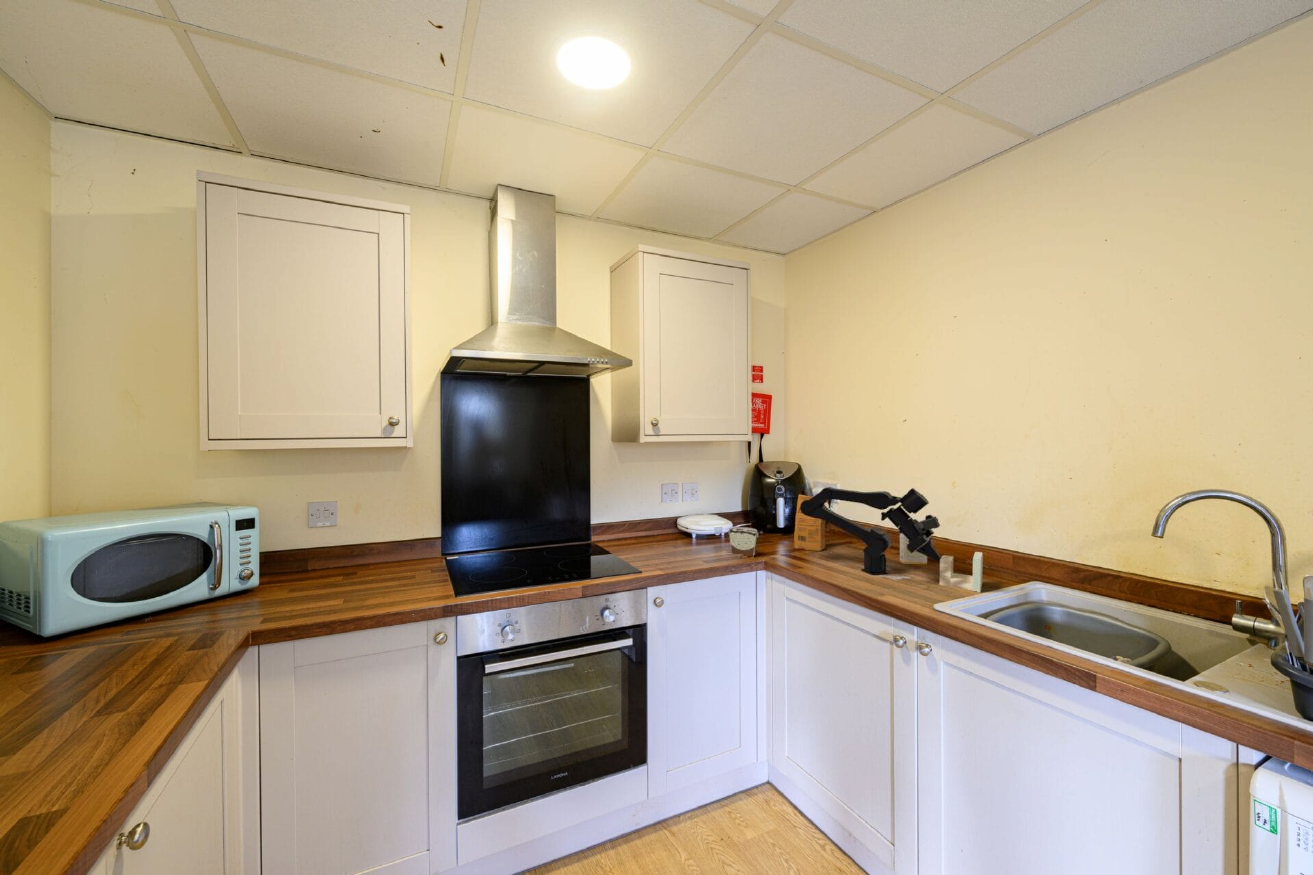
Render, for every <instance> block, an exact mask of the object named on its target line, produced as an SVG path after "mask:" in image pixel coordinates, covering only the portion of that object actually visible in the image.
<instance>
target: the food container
mask: <svg viewBox="0 0 1313 875" xmlns="http://www.w3.org/2000/svg"><path fill="white" fill-rule="evenodd" d="M727 534H728V535H729V545H730V554H731V553H732V554H731V555H733V554H743V555H753V556H754V555H755V556H756V549H757V548H756V547H757V539H758V538H759V532H758V530H757V529H756V528H752V527H741V526H740V527H739V526H738V527H729V529H728V532H727Z"/></svg>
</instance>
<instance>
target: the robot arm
mask: <svg viewBox="0 0 1313 875" xmlns="http://www.w3.org/2000/svg"><path fill="white" fill-rule="evenodd" d="M813 496H814V497H812V496H811V497H812V498H811V499H808V500H805V501H803V502H802V503H801V505H800V510H801V512H802V513H803V514H804V515H806V516H809V517H812V518H817V519H821V520H824V521H825V523H827V524H828V523H829V524H830V525H832V526H834V527H837V529H841V530H842V531H844V532H847V533H848V534H850V535H852V536H854V537H856V538H858V539H859V540H861V541H862V542H863V543H864V544H865V545H866V547H864V548H863V549H862V550H863V568H861V569H860V571H862V572H866V573H867V574H870V575H875V576H877V575H887V574H889V571H887V558H886V554H884V553H885V552H886V551H888V549H890V547H891V546H892V543H893V540H892V537H891V536H890V535H889V534H888V533H887V530H882V529H880V528H879V527H877V526H873V527H871V528H867V527H866V526H863V525H862V524H859V523H857V522H855V521H853V520H851V519H849V518H847V517H845V516H843V515H841V514H839V513H836V512H835V511H833V510H831V509H829V508H828V507H827V506H826V503H827V502H828V501H829V500H837V501H844V502H850V503H857V504H861V505H862V504H863V505H865V506H868V507H870V508H873V509H877V510H880V511H882V512H881V513H880V515H881V517H880V520H881V521H882V522H883V521H885V520H886V519H888V520H889V521H890V522H891V523H892V525H893V526H895V527H896V528H897V530H898V532H899V535H900V534H901V533H902V534H903V535H904V536H905V537H906V538H907V539H908V540H909V541H908V542H909V543H908V544H907V549H908V550H909V551H910V552H911V553H913V552H914V551H915V550H916V552H919V553H921V554H923V555H926V556H927V558H930V559H932V560H934V561H936V562H938V563H940V559H941V557H942V556H941V555H940V554H939V551H938V550H937V549H936V546H935V545H934V536H933V535H934V534H935V531H933V530H932V529H938V528H940V526H941V523H940V522H939V518H938V517H937V516H933V515H932V514H928V515H926V516H925V518H924V519H923V520H918V519H916V518H913V517H912V516H911V515H910V514H914V515H916V514H917V513H919V512H920V511H921V510H922V509H923V508H925V507H927V505H928V504H929V503H930V501H929V500H928V499H927V498H926V496H924V495H923V494H921V493H920V492H919V491H918V490H917V489H915V488H913V487H912V488H911V489H909V490H908V492H907V493H905V494H904V495H903V496H902V497H900V496H896V495H892V494H891V493H890V492H889V491H885V490H881V491H865V492H864V491H857V490H850V489H843V488H836V487H832V486H827V487H824V488H822V490H820V491H819V492H818V493H816V494H815V495H813ZM824 504H825V505H824ZM898 504H899V505H898ZM896 505H898V506H897V507H896V508H895V506H896ZM889 507H890V508H889ZM888 508H889V509H888ZM886 509H888V510H886ZM884 510H886V511H884ZM930 536H931V537H930ZM929 537H930V538H929Z"/></svg>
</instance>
